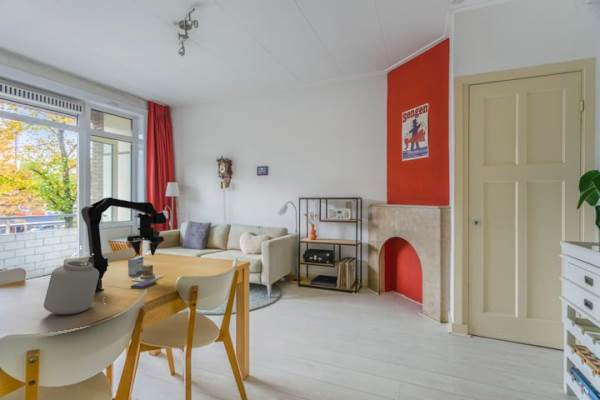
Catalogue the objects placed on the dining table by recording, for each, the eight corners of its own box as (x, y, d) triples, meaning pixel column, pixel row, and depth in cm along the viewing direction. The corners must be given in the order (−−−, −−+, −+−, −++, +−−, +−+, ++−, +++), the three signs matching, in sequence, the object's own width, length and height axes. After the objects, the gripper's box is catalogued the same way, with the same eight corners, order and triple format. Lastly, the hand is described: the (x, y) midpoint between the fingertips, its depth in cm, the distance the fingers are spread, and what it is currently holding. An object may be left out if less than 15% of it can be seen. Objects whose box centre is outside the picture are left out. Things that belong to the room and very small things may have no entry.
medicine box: (135, 275, 161) (135, 259, 161) (127, 274, 162) (127, 259, 161) (143, 271, 169) (143, 256, 169) (136, 271, 169) (136, 256, 169)
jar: (109, 301, 121) (109, 242, 121) (98, 315, 107) (97, 248, 107) (55, 306, 115) (54, 244, 115) (35, 321, 101) (34, 250, 101)
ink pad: (143, 289, 137) (143, 286, 137) (130, 287, 139) (130, 285, 139) (156, 283, 146) (156, 281, 146) (144, 282, 148) (144, 279, 148)
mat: (148, 282, 148) (148, 281, 148) (130, 280, 150) (130, 279, 150) (163, 276, 158) (163, 275, 158) (146, 275, 161) (146, 274, 161)
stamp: (148, 279, 151) (148, 266, 151) (140, 278, 152) (140, 266, 152) (155, 276, 156) (155, 264, 156) (147, 276, 157) (147, 264, 157)
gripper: (170, 224, 159) (170, 253, 159) (142, 223, 164) (142, 251, 164) (156, 226, 148) (156, 257, 149) (126, 225, 153) (126, 255, 153)
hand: (145, 254), depth 154 cm, fingers open, 9 cm apart
